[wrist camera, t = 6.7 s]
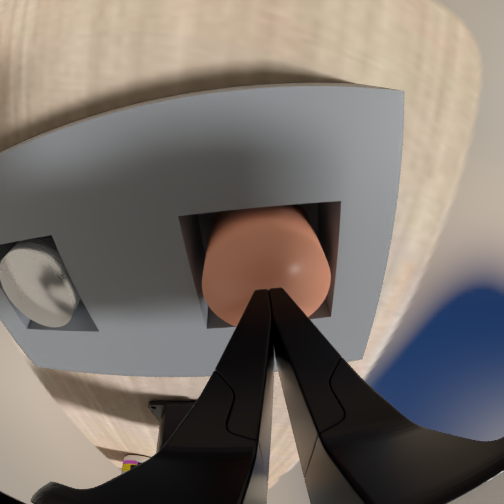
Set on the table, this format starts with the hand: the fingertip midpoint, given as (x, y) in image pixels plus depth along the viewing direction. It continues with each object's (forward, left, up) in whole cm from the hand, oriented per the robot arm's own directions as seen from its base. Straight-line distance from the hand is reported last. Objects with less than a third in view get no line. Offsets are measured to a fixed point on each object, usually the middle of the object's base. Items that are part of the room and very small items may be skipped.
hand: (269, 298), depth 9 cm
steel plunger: (0, +10, -4) cm, 11 cm away
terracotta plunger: (0, 0, -4) cm, 4 cm away
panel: (0, +5, -5) cm, 7 cm away
